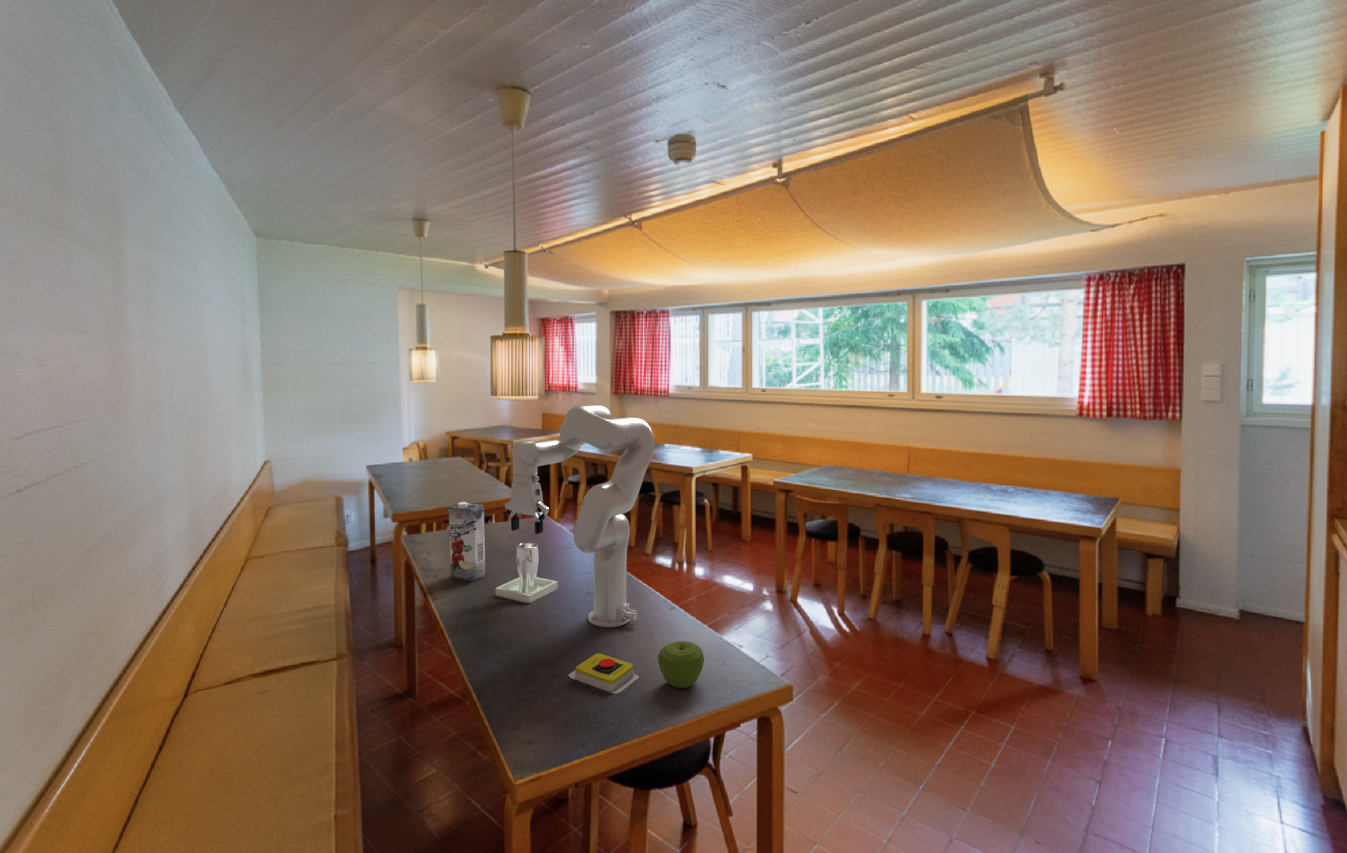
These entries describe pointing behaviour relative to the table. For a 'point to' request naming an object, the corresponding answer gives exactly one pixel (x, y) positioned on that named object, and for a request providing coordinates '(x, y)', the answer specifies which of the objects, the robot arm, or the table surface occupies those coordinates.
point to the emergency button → (605, 673)
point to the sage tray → (512, 592)
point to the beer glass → (527, 567)
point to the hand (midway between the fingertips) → (527, 531)
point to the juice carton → (467, 541)
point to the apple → (681, 663)
